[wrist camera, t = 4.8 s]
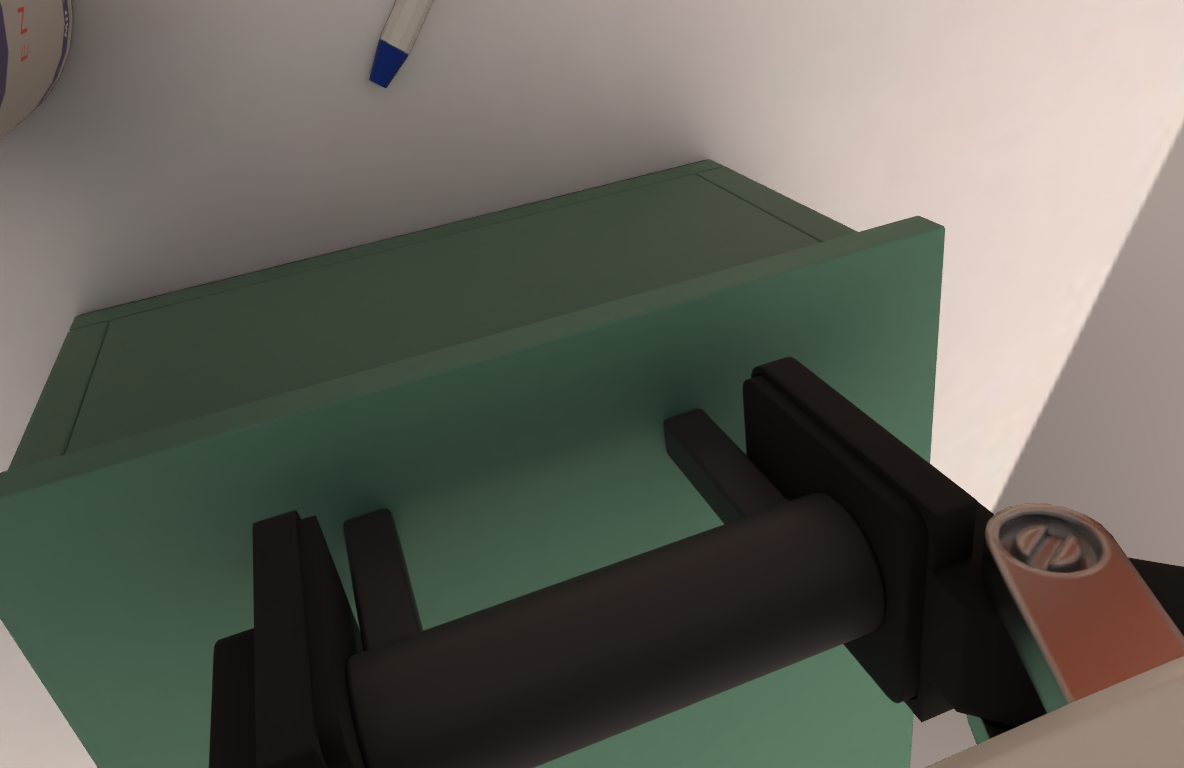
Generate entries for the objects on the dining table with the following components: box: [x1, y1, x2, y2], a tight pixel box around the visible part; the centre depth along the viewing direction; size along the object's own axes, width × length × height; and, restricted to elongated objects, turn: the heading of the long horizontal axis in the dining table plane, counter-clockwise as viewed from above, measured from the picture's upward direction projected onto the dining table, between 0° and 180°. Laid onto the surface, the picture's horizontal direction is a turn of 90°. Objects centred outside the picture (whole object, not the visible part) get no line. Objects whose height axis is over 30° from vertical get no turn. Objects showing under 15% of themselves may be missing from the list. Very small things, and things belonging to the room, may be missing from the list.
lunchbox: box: [8, 160, 858, 471], centre depth 21 cm, size 18×15×8 cm
